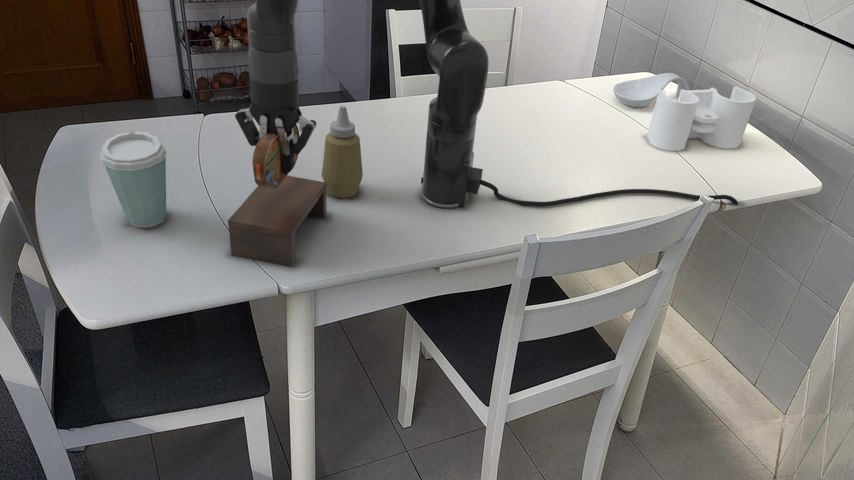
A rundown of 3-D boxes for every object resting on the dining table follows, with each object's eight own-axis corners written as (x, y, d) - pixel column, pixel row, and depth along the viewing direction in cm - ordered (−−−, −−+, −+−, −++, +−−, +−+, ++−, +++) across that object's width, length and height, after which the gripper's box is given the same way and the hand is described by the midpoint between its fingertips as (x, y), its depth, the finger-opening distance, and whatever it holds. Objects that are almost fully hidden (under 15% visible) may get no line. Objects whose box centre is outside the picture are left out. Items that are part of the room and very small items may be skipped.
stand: (326, 214, 141) (326, 182, 137) (292, 266, 126) (290, 232, 122) (271, 204, 142) (269, 172, 138) (231, 254, 127) (227, 220, 123)
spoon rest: (628, 114, 194) (635, 88, 190) (602, 97, 202) (607, 71, 198) (696, 105, 204) (703, 80, 200) (668, 89, 212) (675, 64, 208)
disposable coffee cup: (176, 232, 131) (164, 156, 122) (110, 237, 128) (93, 159, 119) (176, 202, 139) (165, 128, 130) (114, 206, 136) (99, 131, 127)
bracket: (661, 153, 177) (675, 105, 170) (641, 135, 184) (654, 89, 177) (748, 147, 184) (765, 101, 177) (725, 130, 192) (740, 86, 184)
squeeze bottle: (345, 206, 144) (346, 120, 133) (313, 192, 147) (311, 107, 136) (370, 190, 150) (373, 106, 139) (339, 177, 153) (339, 94, 142)
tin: (268, 198, 121) (267, 151, 116) (250, 194, 121) (248, 148, 116) (301, 158, 133) (301, 114, 128) (284, 155, 133) (284, 111, 128)
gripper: (221, 73, 114) (230, 173, 124) (307, 88, 113) (309, 188, 123) (241, 58, 120) (248, 154, 130) (323, 71, 119) (324, 168, 129)
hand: (278, 170), depth 126 cm, fingers closed on tin, 2 cm apart
